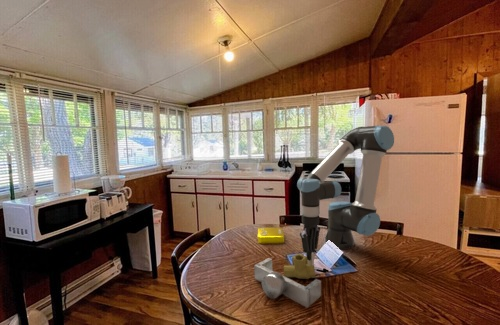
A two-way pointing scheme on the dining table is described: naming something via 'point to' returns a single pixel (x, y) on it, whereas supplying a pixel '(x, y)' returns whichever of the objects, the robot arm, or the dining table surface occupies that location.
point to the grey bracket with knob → (285, 285)
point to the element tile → (270, 235)
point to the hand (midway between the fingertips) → (310, 266)
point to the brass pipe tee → (299, 268)
